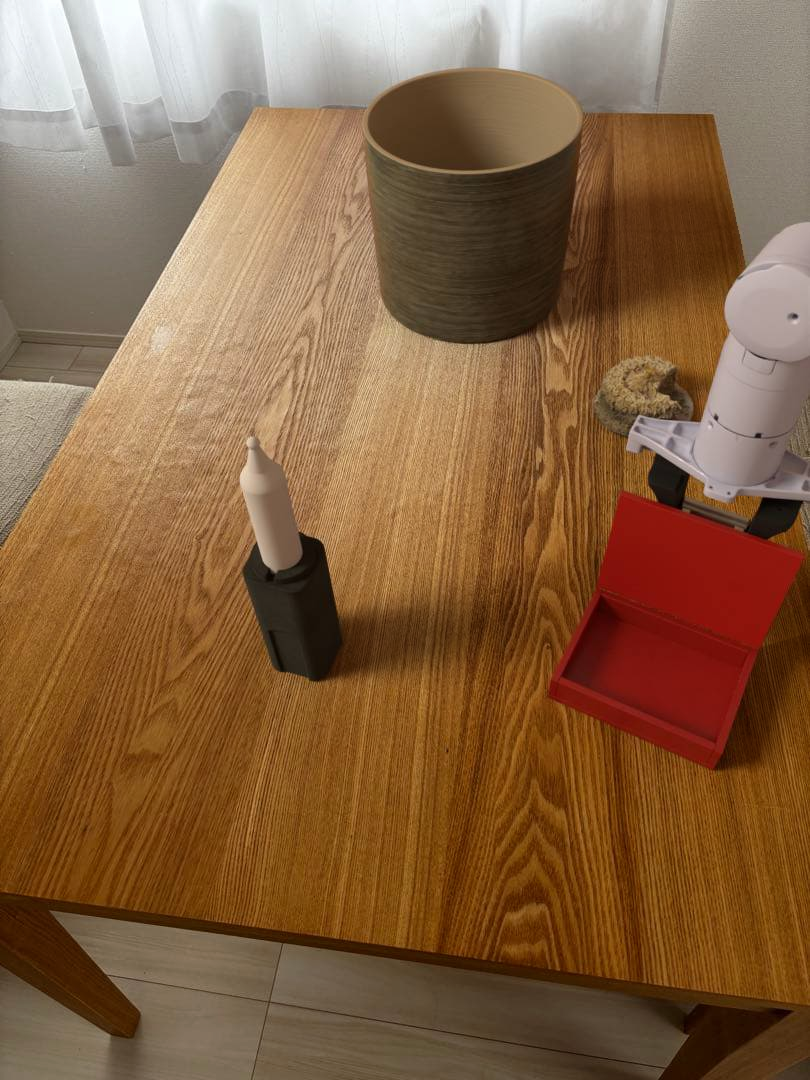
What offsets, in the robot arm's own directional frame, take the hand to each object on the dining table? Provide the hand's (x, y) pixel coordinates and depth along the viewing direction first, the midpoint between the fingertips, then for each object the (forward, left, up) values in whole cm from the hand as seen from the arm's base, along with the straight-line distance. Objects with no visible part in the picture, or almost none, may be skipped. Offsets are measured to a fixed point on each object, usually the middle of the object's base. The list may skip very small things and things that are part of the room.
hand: (705, 538), depth 67 cm
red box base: (0, +9, -9) cm, 12 cm away
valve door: (0, +4, 0) cm, 4 cm away
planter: (+36, -32, -9) cm, 49 cm away
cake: (+11, -21, -9) cm, 26 cm away
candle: (+26, +19, -9) cm, 33 cm away
